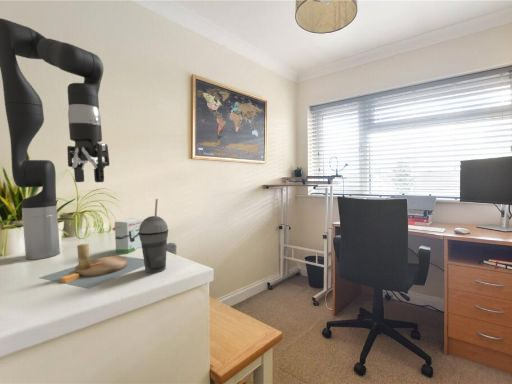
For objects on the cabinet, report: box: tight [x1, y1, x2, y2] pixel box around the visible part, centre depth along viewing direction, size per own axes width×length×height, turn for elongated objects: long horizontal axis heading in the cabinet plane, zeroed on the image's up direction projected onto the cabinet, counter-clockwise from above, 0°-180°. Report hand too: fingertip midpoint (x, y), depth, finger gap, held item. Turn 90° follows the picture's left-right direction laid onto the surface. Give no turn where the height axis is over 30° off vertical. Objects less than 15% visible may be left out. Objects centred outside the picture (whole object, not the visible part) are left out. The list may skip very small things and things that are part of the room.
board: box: [39, 254, 145, 289], centre depth 69 cm, size 19×20×2 cm
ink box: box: [114, 218, 144, 255], centre depth 88 cm, size 9×5×12 cm, turn 169°
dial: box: [74, 243, 127, 277], centre depth 69 cm, size 12×12×8 cm
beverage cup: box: [138, 198, 169, 274], centre depth 66 cm, size 7×7×20 cm
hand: (89, 182), depth 73 cm, fingers open, 8 cm apart
